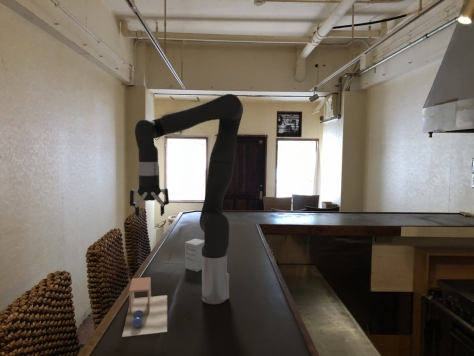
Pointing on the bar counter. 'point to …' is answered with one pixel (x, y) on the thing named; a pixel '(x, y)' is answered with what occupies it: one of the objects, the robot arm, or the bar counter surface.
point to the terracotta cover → (139, 290)
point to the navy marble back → (138, 314)
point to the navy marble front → (137, 322)
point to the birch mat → (147, 316)
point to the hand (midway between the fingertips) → (150, 216)
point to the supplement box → (193, 254)
